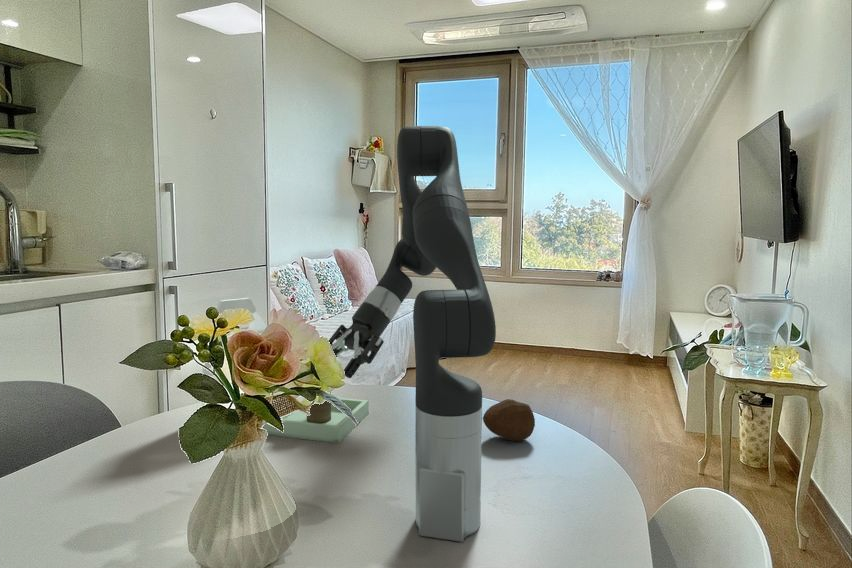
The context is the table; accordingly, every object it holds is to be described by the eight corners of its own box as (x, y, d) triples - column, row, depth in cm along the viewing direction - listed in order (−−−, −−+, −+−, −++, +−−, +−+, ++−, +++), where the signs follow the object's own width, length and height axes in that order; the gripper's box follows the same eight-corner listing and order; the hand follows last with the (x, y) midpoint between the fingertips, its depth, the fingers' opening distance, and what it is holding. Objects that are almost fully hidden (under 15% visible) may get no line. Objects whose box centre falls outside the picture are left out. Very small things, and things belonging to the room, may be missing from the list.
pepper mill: (325, 425, 112) (323, 372, 111) (301, 422, 113) (300, 370, 112) (335, 416, 117) (334, 365, 116) (313, 413, 118) (311, 363, 117)
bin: (338, 442, 105) (338, 427, 105) (264, 434, 109) (263, 419, 109) (368, 413, 121) (368, 400, 120) (302, 407, 125) (301, 394, 124)
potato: (538, 446, 104) (539, 406, 103) (487, 448, 103) (487, 407, 102) (527, 431, 111) (528, 393, 110) (479, 433, 110) (479, 394, 109)
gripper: (348, 297, 126) (305, 355, 120) (387, 305, 116) (342, 369, 109) (367, 316, 130) (327, 373, 124) (406, 326, 120) (364, 388, 114)
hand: (334, 371), depth 117 cm, fingers open, 8 cm apart
